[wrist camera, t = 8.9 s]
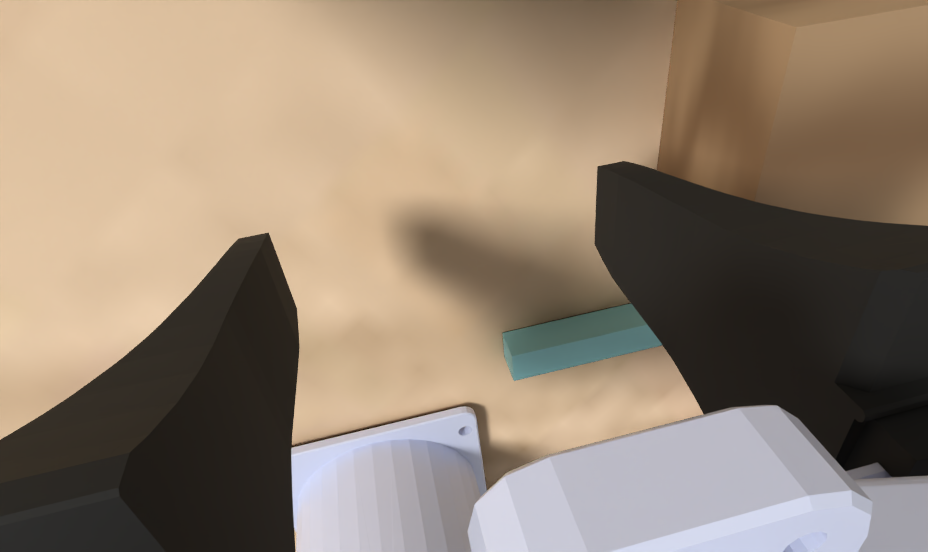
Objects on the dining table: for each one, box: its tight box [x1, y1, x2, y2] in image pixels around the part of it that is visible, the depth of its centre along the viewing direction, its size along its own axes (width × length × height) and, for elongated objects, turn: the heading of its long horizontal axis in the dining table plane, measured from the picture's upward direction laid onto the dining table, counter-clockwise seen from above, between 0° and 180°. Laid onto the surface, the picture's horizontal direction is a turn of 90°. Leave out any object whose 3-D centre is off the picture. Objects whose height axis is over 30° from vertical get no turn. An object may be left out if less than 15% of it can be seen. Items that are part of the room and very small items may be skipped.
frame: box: [502, 304, 662, 381], centre depth 16 cm, size 16×16×1 cm
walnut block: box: [657, 0, 928, 226], centre depth 15 cm, size 6×6×4 cm
